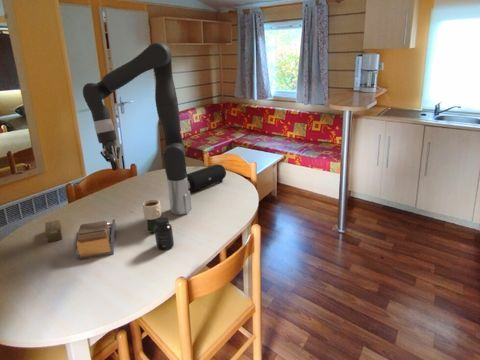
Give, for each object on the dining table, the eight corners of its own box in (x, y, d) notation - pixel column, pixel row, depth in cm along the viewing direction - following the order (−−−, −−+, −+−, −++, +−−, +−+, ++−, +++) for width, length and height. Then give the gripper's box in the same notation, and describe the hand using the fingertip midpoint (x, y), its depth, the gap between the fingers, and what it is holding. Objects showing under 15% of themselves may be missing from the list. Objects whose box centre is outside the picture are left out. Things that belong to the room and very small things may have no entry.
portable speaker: (192, 195, 182) (190, 177, 178) (181, 190, 188) (179, 173, 185) (227, 181, 198) (226, 165, 195) (216, 177, 205) (215, 161, 201)
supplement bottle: (157, 242, 140) (154, 215, 136) (174, 240, 141) (171, 214, 136) (155, 251, 134) (151, 224, 129) (173, 250, 134) (170, 223, 130)
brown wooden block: (83, 238, 138) (79, 224, 135) (109, 234, 140) (106, 220, 138) (80, 249, 131) (77, 234, 128) (108, 244, 133) (105, 230, 131)
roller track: (84, 229, 151) (81, 215, 148) (116, 224, 154) (113, 210, 152) (77, 260, 130) (73, 244, 127) (113, 254, 133) (110, 238, 130)
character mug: (169, 230, 148) (165, 203, 143) (155, 237, 144) (151, 209, 139) (154, 222, 155) (151, 196, 150) (140, 228, 151) (136, 202, 146)
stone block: (47, 243, 142) (44, 233, 140) (47, 231, 151) (44, 221, 149) (63, 239, 144) (60, 229, 142) (61, 228, 153) (59, 218, 152)
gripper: (105, 130, 140) (116, 171, 144) (120, 128, 153) (130, 165, 156) (88, 134, 141) (100, 174, 145) (105, 131, 154) (115, 168, 158)
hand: (115, 170), depth 151 cm, fingers closed
